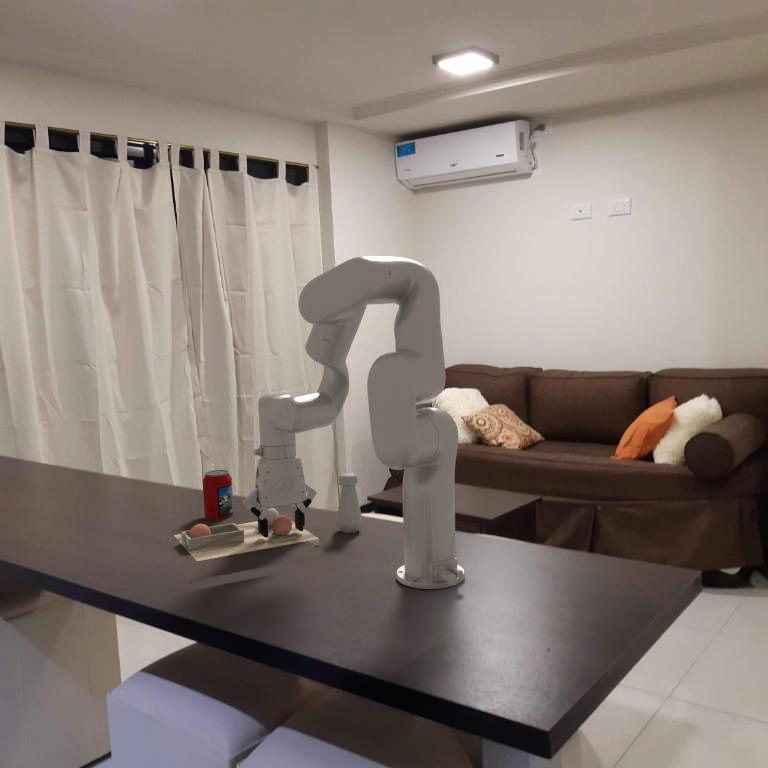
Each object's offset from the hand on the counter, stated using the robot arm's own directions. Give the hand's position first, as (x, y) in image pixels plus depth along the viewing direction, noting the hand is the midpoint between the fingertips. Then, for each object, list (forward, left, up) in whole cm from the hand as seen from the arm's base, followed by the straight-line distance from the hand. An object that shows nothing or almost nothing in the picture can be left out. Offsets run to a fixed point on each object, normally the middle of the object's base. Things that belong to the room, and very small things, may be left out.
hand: (282, 532), depth 166 cm
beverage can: (+24, +7, -3) cm, 25 cm away
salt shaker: (0, -16, -3) cm, 16 cm away
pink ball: (+4, +17, -1) cm, 17 cm away
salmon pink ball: (0, 0, -1) cm, 1 cm away
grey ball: (+8, 0, -1) cm, 8 cm away
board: (+4, +7, -2) cm, 8 cm away
